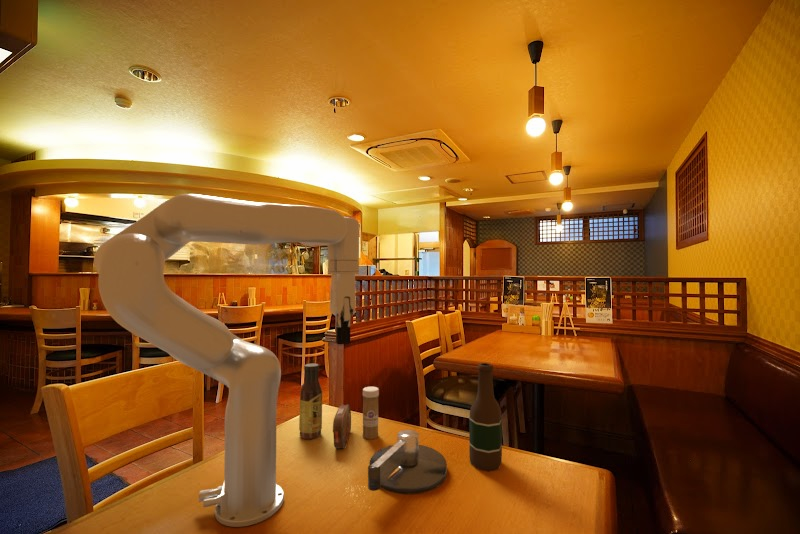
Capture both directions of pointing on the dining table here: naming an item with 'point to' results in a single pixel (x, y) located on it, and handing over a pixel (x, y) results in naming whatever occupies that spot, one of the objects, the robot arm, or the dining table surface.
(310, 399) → the sauce bottle
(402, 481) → the dial plate
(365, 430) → the sprinkles bottle
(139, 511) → the dining table surface
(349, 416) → the tin
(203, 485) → the dining table surface
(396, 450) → the dial lever
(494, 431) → the beer bottle
